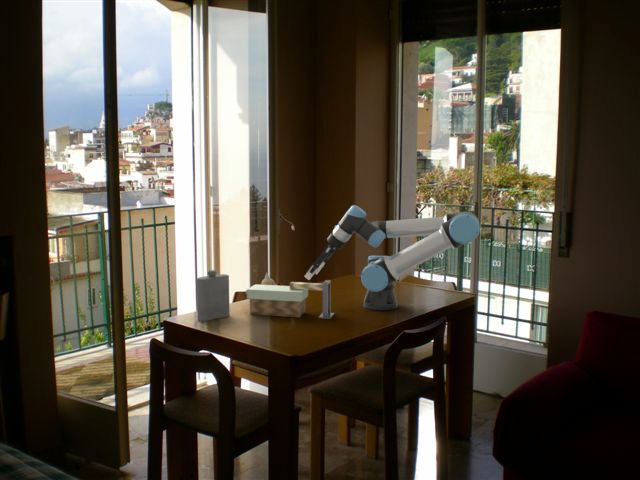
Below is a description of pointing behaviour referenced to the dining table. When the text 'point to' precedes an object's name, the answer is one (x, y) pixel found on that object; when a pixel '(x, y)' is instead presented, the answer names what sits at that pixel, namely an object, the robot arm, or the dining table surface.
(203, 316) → the flask
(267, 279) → the toy
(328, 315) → the grey post stand
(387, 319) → the dining table surface
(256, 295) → the lid
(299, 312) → the brown open box
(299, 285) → the light wooden bar
